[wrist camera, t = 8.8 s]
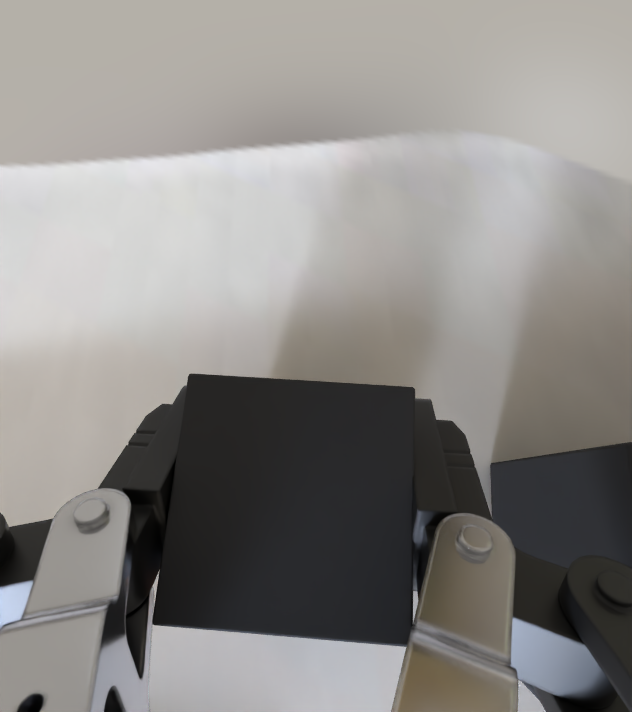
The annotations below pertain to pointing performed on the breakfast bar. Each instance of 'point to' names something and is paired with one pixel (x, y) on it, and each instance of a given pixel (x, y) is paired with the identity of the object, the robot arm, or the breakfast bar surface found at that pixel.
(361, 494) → the black orange striped block
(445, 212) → the breakfast bar surface
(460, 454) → the robot arm
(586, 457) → the dark grey stepped block
